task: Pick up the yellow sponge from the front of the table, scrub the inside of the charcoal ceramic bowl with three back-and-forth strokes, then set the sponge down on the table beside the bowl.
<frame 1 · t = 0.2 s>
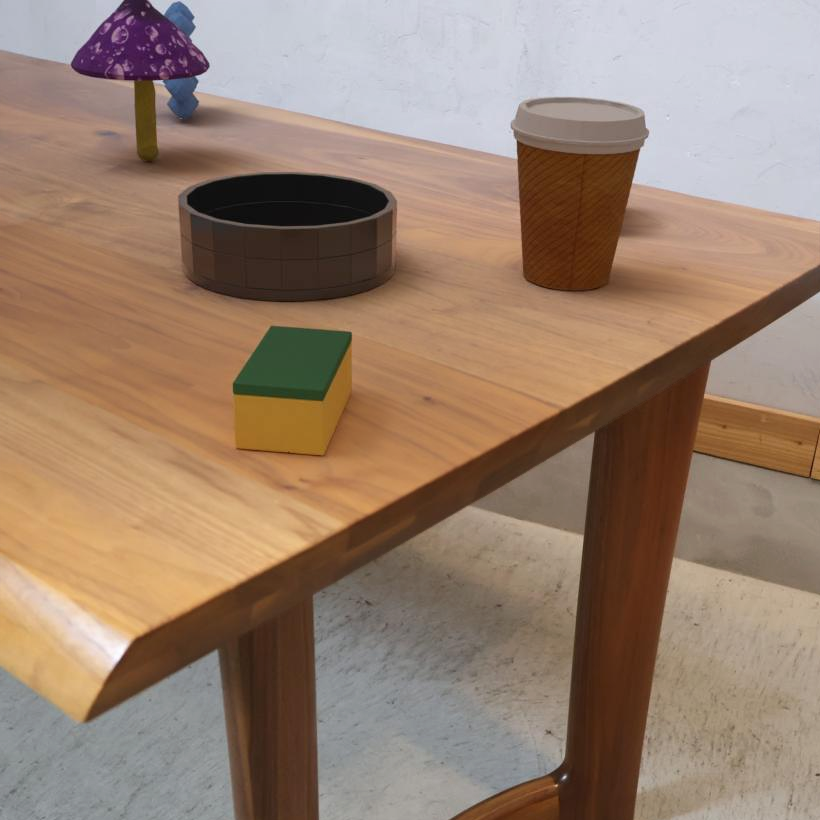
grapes: (176, 118, 129), on the table
disposable coffee cup: (565, 279, 84), on the table
sponge: (296, 418, 61), on the table
bowl: (290, 265, 84), on the table
decorative mushroom: (149, 163, 110), on the table
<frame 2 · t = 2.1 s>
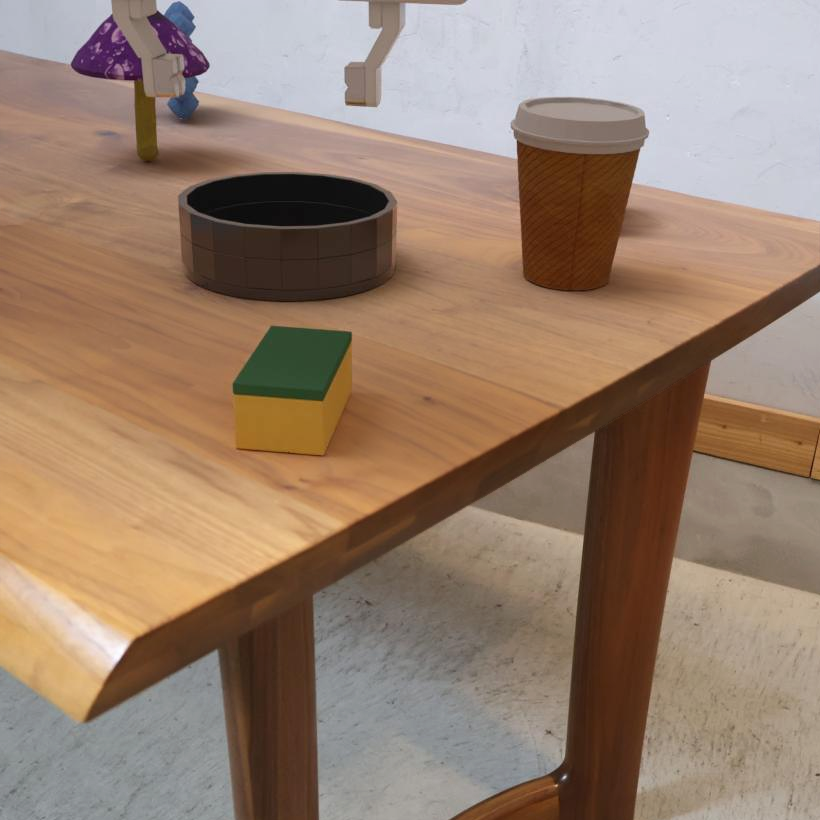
hand: (263, 100, 54), 16 cm above the table, tool pointing down, fingers open, 8 cm apart
nothing on the table moved.
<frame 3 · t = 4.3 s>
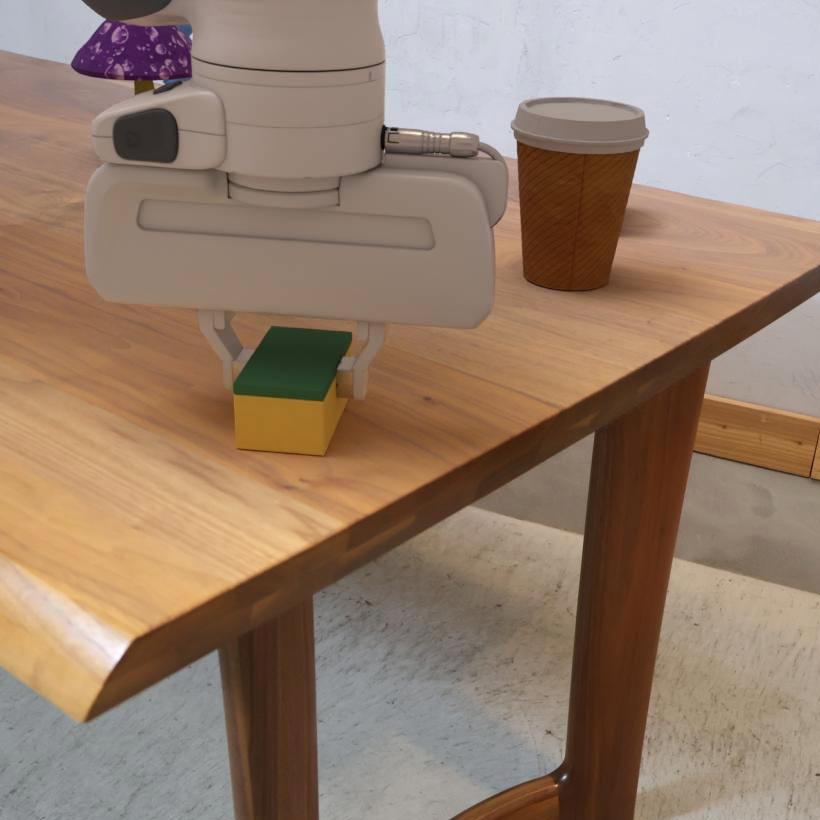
hand: (295, 390, 60), 2 cm above the table, tool pointing down, fingers closed on sponge, 4 cm apart
sponge: (297, 418, 61), on the table, touching gripper
everything else where it was.
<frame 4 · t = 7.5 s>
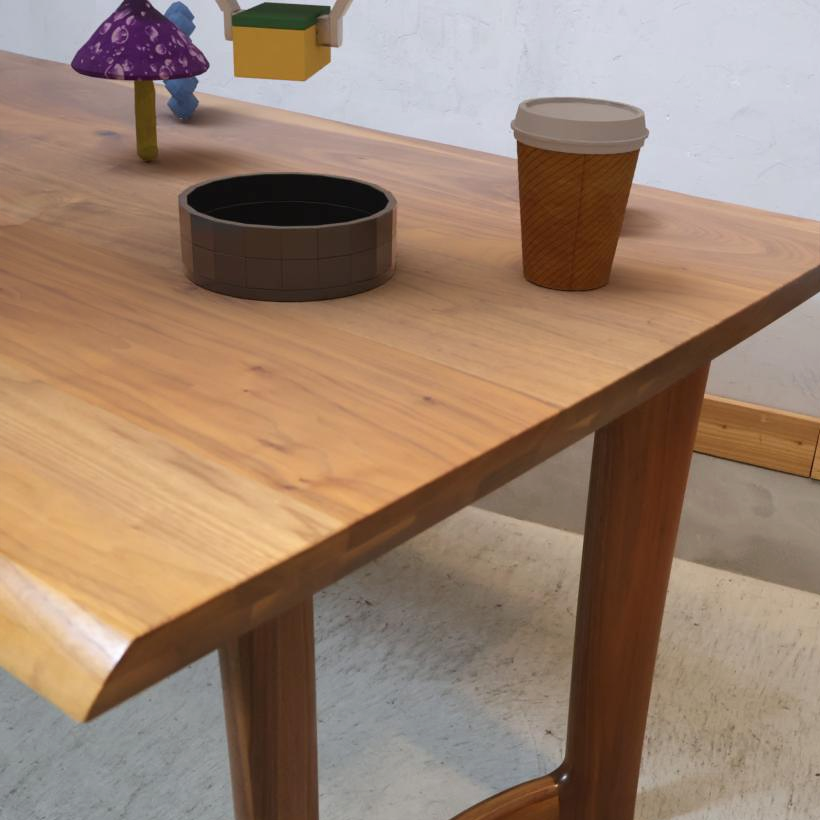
hand: (283, 43, 74), 16 cm above the table, tool pointing down, fingers closed on sponge, 4 cm apart
sponge: (284, 69, 74), point 14 cm above the table, touching gripper
everything else where it was.
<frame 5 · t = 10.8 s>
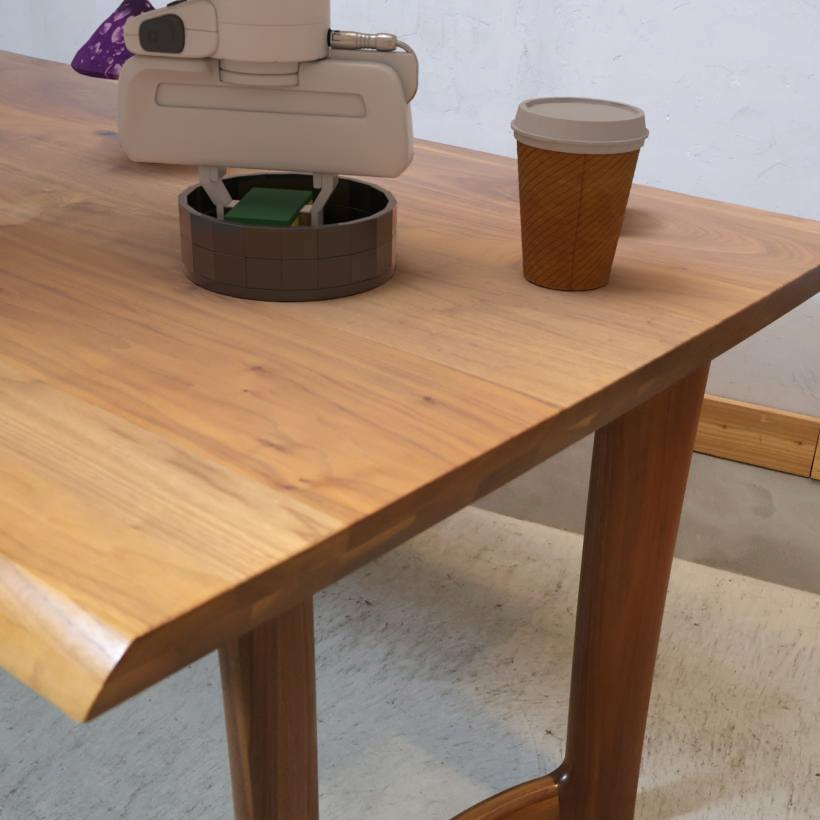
hand: (270, 230, 82), 3 cm above the table, tool pointing down, fingers closed on sponge, 4 cm apart
sponge: (271, 252, 83), point 1 cm above the table, touching gripper
everything else where it was.
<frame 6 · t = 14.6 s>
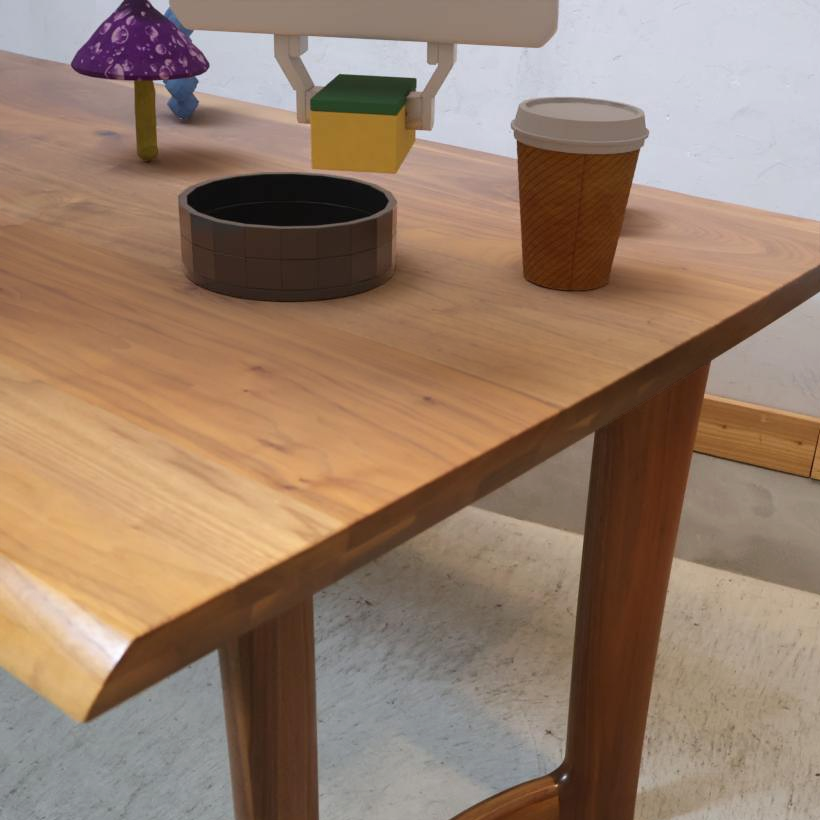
hand: (365, 125, 63), 14 cm above the table, tool pointing down, fingers closed on sponge, 4 cm apart
sponge: (366, 154, 64), point 12 cm above the table, touching gripper
everything else where it was.
when the fingers open (1 cm above the table, at t = 17.7 s): sponge stays where it is, on the table.
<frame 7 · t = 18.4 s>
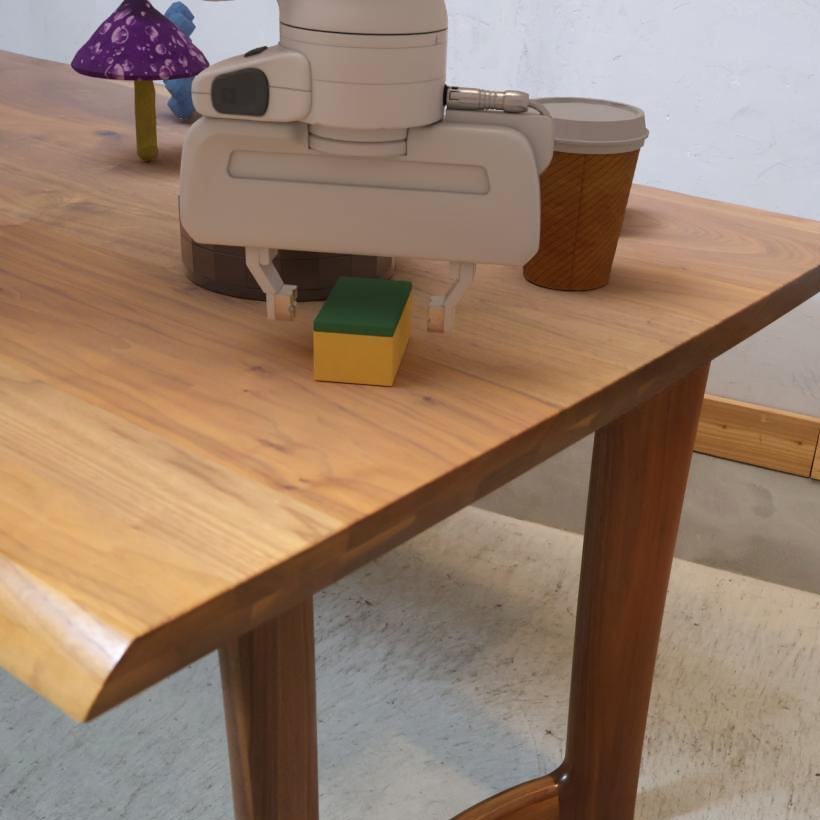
hand: (361, 324, 68), 2 cm above the table, tool pointing down, fingers open, 8 cm apart
sponge: (364, 357, 69), on the table
everything else where it was.
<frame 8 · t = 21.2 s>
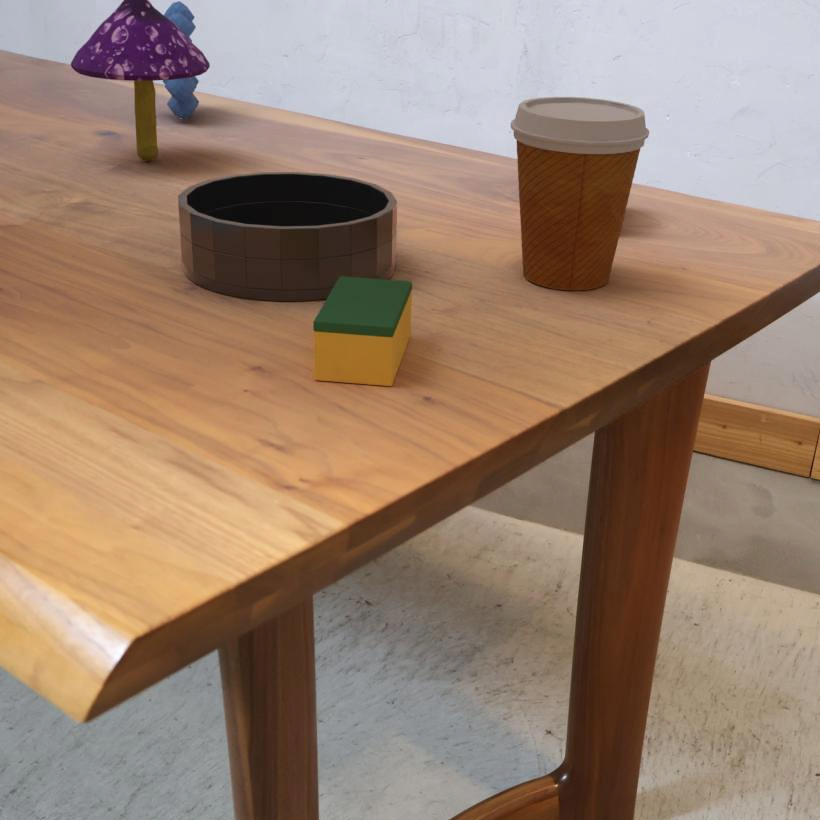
nothing on the table moved.
at the end: sponge 0.1 cm from the target spot, on the table; sponge touching table; sponge tilted 0° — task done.
